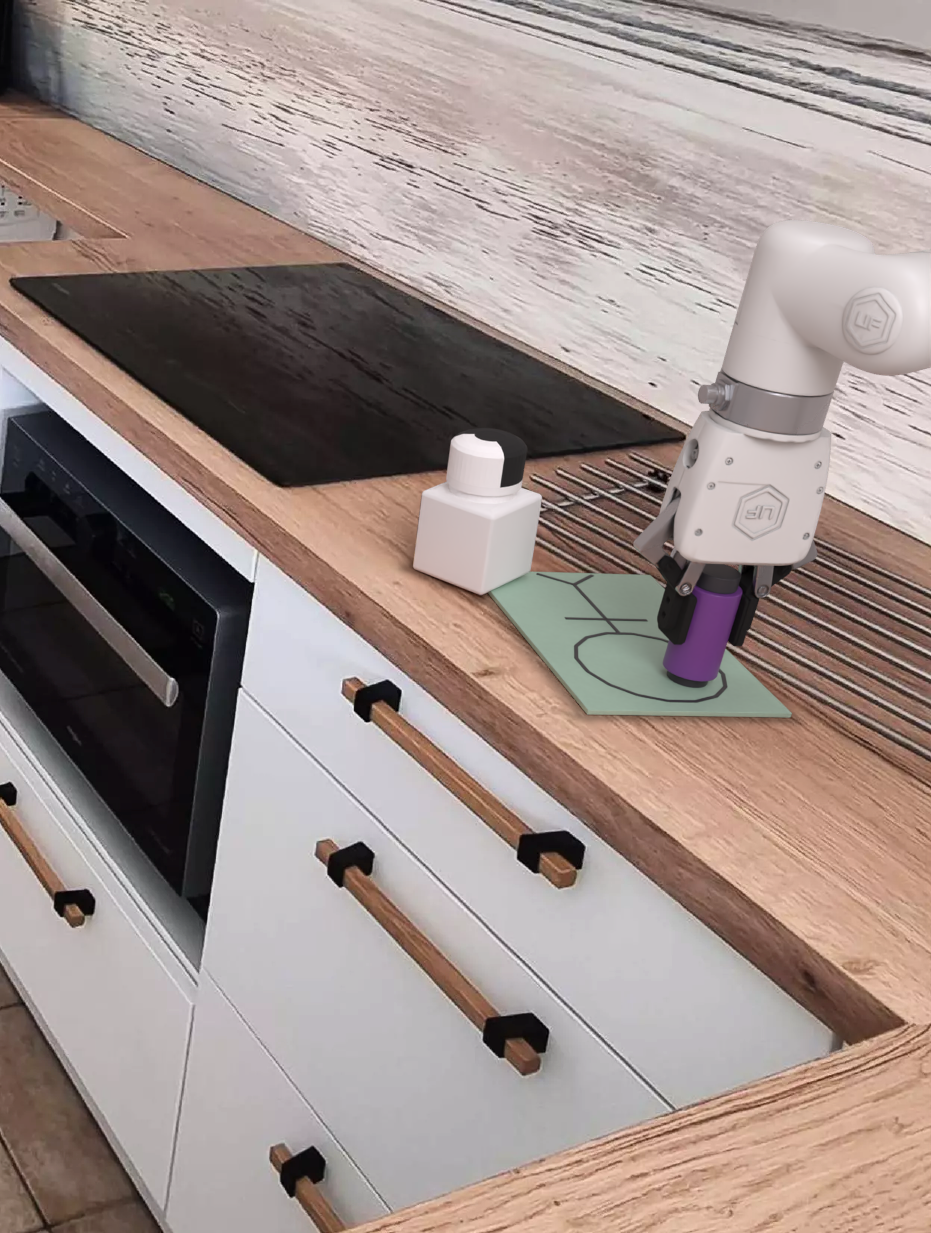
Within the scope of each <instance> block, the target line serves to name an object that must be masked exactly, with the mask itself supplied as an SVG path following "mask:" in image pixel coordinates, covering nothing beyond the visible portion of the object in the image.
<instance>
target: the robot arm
mask: <svg viewBox="0 0 931 1233" xmlns="http://www.w3.org/2000/svg"><path fill="white" fill-rule="evenodd" d="M844 363H845V364H847V365H849V366H852V367H854V368H856V369H857V370H860V371H862V372H865V373H869V374H872V375H878V376H886V377H894V376H895V377H896V376H902V375H908V374H911V373H916V372H919V371H924V370H928V369H930V368H931V248H928V249H923V250H917V251H912V252H904V253H901V252H900V253H889V254H879V253H878V254H877V253H876V249H875V246H874V244H873V242H872V241H871V240H870V239H869V237H867V236H865V235H864V234H861V233H860V232H858V231H856V230H854V229H850V228H848V227H844V226H841V225H837V224H833V223H827V222H821V221H813V220H807V219H805V220H804V219H788V220H780V221H776V222H774V223H772V224H770V225H769V226H768V227H767V228H766V229H764V230H763V232H761V234H760V236H759V238H758V239H757V243H756V246H755V249H754V252H753V256H752V259H751V262H750V266H749V269H748V272H747V276H746V280H745V283H744V286H743V290H742V293H741V298H740V301H739V304H738V307H737V312H736V315H735V318H734V322H733V325H732V330H731V333H730V337H729V339H728V344H727V347H726V350H725V354H724V358H723V361H722V364H721V367H720V371H717V375H716V378H715V382H713V383H711V384H702V385H700V387H699V389H698V391H697V392H698V393H697V400H698V402H699V403H700V404H702V405H703V404H705V405H708V407H709V410H703V411H700V412H699V415H698V417H697V419H696V420H695V422H694V424H693V425H692V428H691V430H690V431H689V433H688V435H687V438H686V439H685V442H684V444H683V446H682V448H681V451H680V453H679V455H678V457H677V460H676V462H675V465H674V467H673V470H672V473H671V476H670V479H669V481H668V484H667V486H666V490H665V493H664V495H663V499H662V502H661V504H660V509H659V514H658V515H657V517H655V518H654V520H653V521H651V523H649V525H648V526H646V528H645V529H644V530H643V531H642V532H640V534H639V535H638V536H637V537H636V538H635V539H634V541H633V543H632V545H633V548H634V549H635V550H636V551H637V552H638V554H640V555H641V556H642V557H644V558H645V559H646V560H647V561H648V562H650V563H651V564H652V565H653V566H654V567H655V568H656V570H657V571H658V573H659V574H660V575H661V577H662V579H663V580H664V581H665V582H666V584H665V587H664V589H665V591H664V594H663V598H662V601H661V605H660V608H659V612H658V615H657V622H658V628H659V630H660V631H661V632H662V633H663V634H664V635H665V636H666V637H667V638H668V639H669V640H670V641H671V642H672V643H673V644H674V645H682V644H683V643H685V641H686V637H687V634H688V631H689V627H690V624H691V621H692V617H693V614H694V611H695V607H696V604H697V598H696V596H695V595H694V594H692V591H693V589H694V587H695V585H696V583H697V581H698V579H699V577H700V575H701V573H702V571H703V569H704V567H705V565H706V563H708V564H725V565H735V566H737V565H738V566H737V567H738V568H737V570H738V571H739V572H740V573H741V579H740V583H739V587H740V588H741V589H742V596H741V599H740V603H739V606H738V609H737V613H736V616H735V619H734V622H733V626H732V629H731V632H730V636H729V639H728V643H729V644H730V645H732V646H733V647H743V645H744V643H745V641H746V636H747V634H748V632H749V631H750V629H751V627H752V624H753V622H754V618H755V615H756V611H757V608H758V606H759V602H760V599H765V598H766V597H768V596H769V594H770V593H771V590H772V587H773V586H775V585H776V584H778V583H779V582H780V581H782V580H783V579H785V578H786V577H787V576H789V575H790V574H791V572H792V571H795V570H797V569H799V568H801V567H803V566H805V565H807V564H809V563H811V562H813V561H815V559H817V557H818V555H819V554H818V550H817V549H818V548H817V547H816V543H815V541H814V537H815V535H816V530H817V527H818V523H819V519H820V516H821V511H822V507H823V502H824V499H825V498H824V497H825V493H826V488H827V483H828V478H829V471H830V462H831V461H830V460H831V450H832V432H831V431H830V430H828V428H825V427H824V425H825V422H826V418H827V415H828V413H829V412H828V411H829V408H830V406H831V402H832V399H833V396H834V393H835V389H836V387H837V383H838V380H839V377H840V374H841V371H842V368H843V365H844ZM668 540H669V541H673V548H672V550H671V552H670V554H669V553H668V552H667V551H666V550H665V549H664V545H665V544H666V543H667V541H668Z"/></svg>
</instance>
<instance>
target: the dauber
mask: <svg viewBox="0 0 931 1233" xmlns="http://www.w3.org/2000/svg"><path fill="white" fill-rule="evenodd" d="M740 579H741V573H740V572H739V571H738V569H736V568H735V567H733V566H730V565H729V564H708V563H706V565H705V567H704V569H703V571H702V573H701V575H700V577H699V579H698V581H697V583H696V585H695V587H694V589H693V591H692V594H694V595H695V596H696V598H697V604H696V607H695V611H694V614H693V617H692V621H691V624H690V627H689V631H688V634H687V637H686V641H685V643H683V644H682V645H674V644H673V643H672V642H671V641H670V640H669V642H668V645H667V649H666V652H665V655H664V659H663V666H664V667H665V669H666V670H667V677H668V678H669V679H670V680H671V681H673V682H675V683H677V684H679V685H682V686H686V687H691V688H701V687H705V686H706V685H707V684H708V681H711V680H713V679H715V678H716V677H717V675H718V672H719V668H720V665H721V662H722V659H723V655H724V652H725V649H727V645H728V643H729V641H728V639H729V636H730V632H731V629H732V626H733V622H734V619H735V616H736V613H737V609H738V606H739V603H740V599H741V596H742V589H741V588H740V587H739V583H740Z"/></svg>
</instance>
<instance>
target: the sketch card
mask: <svg viewBox="0 0 931 1233" xmlns="http://www.w3.org/2000/svg"><path fill="white" fill-rule="evenodd" d="M664 591H665V587H663V585H661V584H660V583H659V582H658V581H657V580H656V579H655V578H654V577H653V576H652V575H651V574H631V573H629V574H627V573H597V572H596V573H595V572H594V573H593V572H564V571H563V572H559V571H558V572H556V571H530V572H529V573H527V574H525V575H523V576H520V577H518V578H516V579H514V580H512V581H510V582H508V583H506V584H504V585H502V586H500V587H498V588H496V589H493V590H491V591H489V592H487V593H486V594H488V595H489V597H490V598H491V599H492V600H493V602H494V603H495V604H496V605H497V607H498V608H499V609H500V610H501V611H502V612H503V614H504V615H505V616H506V618H507V619H508V620H509V621H510V622H511V623H512V625H513V626H514V627H515V628H516V630H518V632H519V633H520V634H521V636H522V637H523V639H525V640H526V642H527V643H528V644H529V646H530V647H531V648H532V649H533V650H534V651H535V653H536V654H537V656H539V658H540V659H541V660H542V661H543V663H544V664H545V665H546V666H547V667H548V669H549V670H550V672H552V674H553V675H554V676H555V677H556V678H557V680H558V681H559V682H560V684H562V686H563V687H564V688H565V689H566V691H567V692H568V693H569V695H570V696H571V697H572V698H573V699H574V701H575V702H576V703H577V704H578V705H579V707H581V709H582V710H583V711H584V713H585V714H586V715H587V716H588V715H589V716H591V715H592V716H593V715H595V716H655V717H656V716H657V717H658V716H660V717H662V716H663V717H722V718H723V717H724V718H725V717H726V718H789V719H790V718H792V715H793V713H792V711H790V709H788V707H786V706H785V704H783V703H782V702H781V701H780V700H779V699H778V698H777V697H776V696H775V694H773V693H772V692H771V691H770V690H769V689H768V688H767V687H766V686H765V685H764V684H763V683H762V682H761V681H760V680H758V678H757V677H756V676H755V675H754V674H753V673H752V672H750V670H748V669H747V668H746V667H745V666H744V664H742V663H741V662H740V661H739V660H738V659H737V658H736V657H735V655H733V654H732V653H731V652H730V651H729V650H728V649H727V648H726V649H725V652H724V655H723V659H722V662H721V665H720V668H719V672H718V675H717V677H716V678H715V679H713V680H711V681H708V684H707V685H706V686H705V687H701V688H691V687H686V686H682V685H679V684H677V683H675V682H673V681H671V680H670V679H669V678H668V677H667V670H666V669H665V667H664V666H663V659H664V655H665V652H666V649H667V645H668V642H669V639H668V638H667V637H666V636H665V635H664V634H663V633H662V632H661V631H660V630H659V628H658V622H657V615H658V612H659V608H660V605H661V601H662V598H663V594H664Z"/></svg>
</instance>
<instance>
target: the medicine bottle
mask: <svg viewBox="0 0 931 1233" xmlns="http://www.w3.org/2000/svg"><path fill="white" fill-rule="evenodd" d="M527 454H528V446H527V444H526V443H525V441H524V439H522V438H520V437H519V436H517V435H515V434H513V433H512V432H509V431H506V430H502V429H498V428H491V427H490V428H489V427H478V428H477V427H476V428H470V429H467V430H462V431H460V432H458V433H456V434H455V435H454V436H453V437H452V438H451V440H450V446H449V454H448V461H447V468H446V477H445V478H446V479H445V480H446V481H445V482H442V483H439V484H436V485H435V486H432V487H429V488H426V489H425V490H423V491H422V492H421V495H420V505H419V512H418V513H419V514H418V520H417V528H416V536H415V544H414V552H413V561H412V567H413V569H414V570H416V571H417V572H421V573H423V574H425V575H428V576H431V577H434V578H436V579H438V580H441V581H443V582H446V583H449V584H450V585H453V586H456V587H458V588H461V589H463V590H466V591H468V592H471V593H473V594H477V595H479V596H483V595H486V594H488V593H487V592H489V591H491V590H493V589H496V588H498V587H500V586H502V585H504V584H506V583H508V582H510V581H512V580H514V579H516V578H518V577H520V576H523V575H525V574H527V573H529V572H531V570H532V565H533V564H532V563H533V558H534V551H535V546H536V538H537V533H538V527H539V520H540V514H541V509H542V502H543V501H542V500H543V496H542V494H540V493H539V492H536V491H532V490H530V489H529V490H528V489H527V488H524V487H523V480H524V474H525V467H526V461H527Z"/></svg>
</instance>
